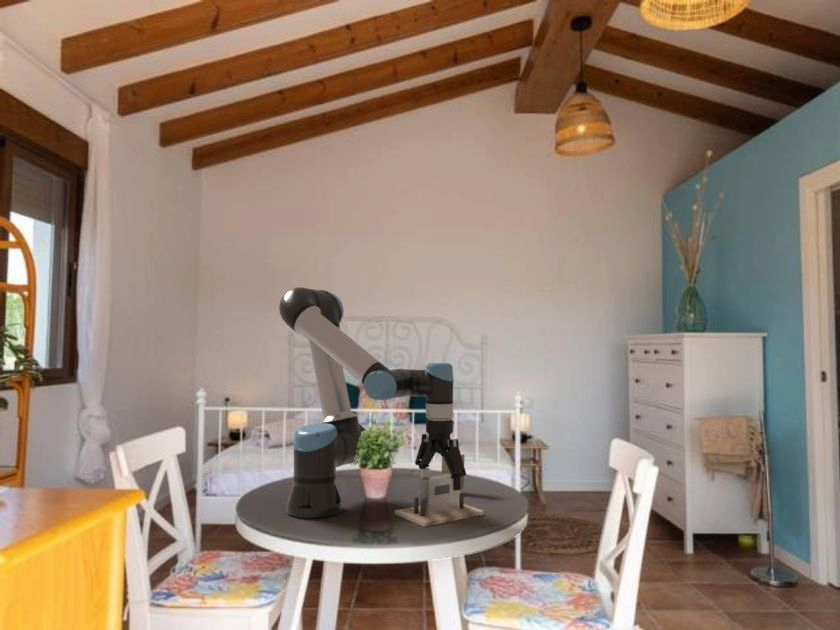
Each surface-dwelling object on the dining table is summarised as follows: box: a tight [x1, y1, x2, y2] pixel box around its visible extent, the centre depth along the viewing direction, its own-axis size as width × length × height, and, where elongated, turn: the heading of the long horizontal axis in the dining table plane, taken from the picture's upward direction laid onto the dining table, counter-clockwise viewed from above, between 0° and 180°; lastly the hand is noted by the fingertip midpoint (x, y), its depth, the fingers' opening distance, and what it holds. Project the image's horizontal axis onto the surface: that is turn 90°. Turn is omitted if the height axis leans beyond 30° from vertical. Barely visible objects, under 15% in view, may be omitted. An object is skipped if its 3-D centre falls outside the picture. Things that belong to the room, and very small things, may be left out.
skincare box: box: [440, 453, 466, 494], centre depth 187 cm, size 6×4×12 cm
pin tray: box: [394, 493, 485, 528], centre depth 163 cm, size 20×14×5 cm
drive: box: [419, 474, 458, 515], centre depth 163 cm, size 10×4×9 cm, turn 125°
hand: (439, 497), depth 163 cm, fingers open, 13 cm apart
